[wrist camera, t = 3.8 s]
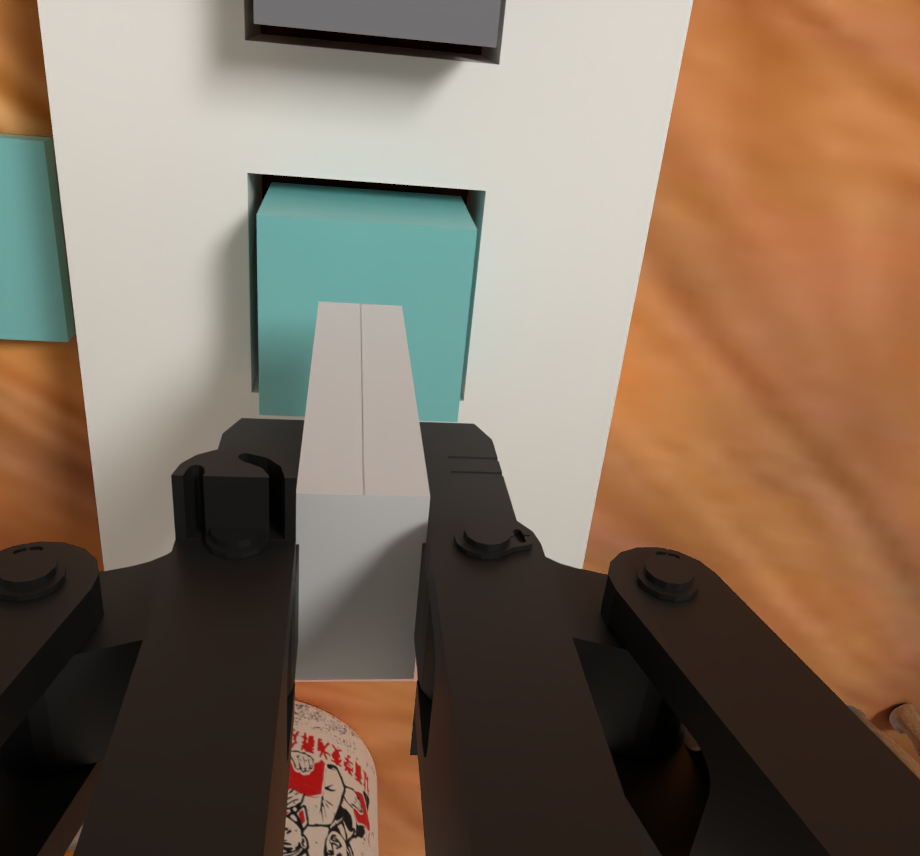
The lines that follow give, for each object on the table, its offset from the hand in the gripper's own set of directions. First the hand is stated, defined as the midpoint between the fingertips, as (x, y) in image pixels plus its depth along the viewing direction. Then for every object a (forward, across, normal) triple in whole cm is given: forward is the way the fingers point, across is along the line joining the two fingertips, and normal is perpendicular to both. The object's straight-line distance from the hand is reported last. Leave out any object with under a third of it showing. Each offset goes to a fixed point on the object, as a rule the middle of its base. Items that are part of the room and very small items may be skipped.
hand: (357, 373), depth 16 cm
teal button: (+6, 0, 0) cm, 6 cm away
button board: (+8, 0, 0) cm, 8 cm away
